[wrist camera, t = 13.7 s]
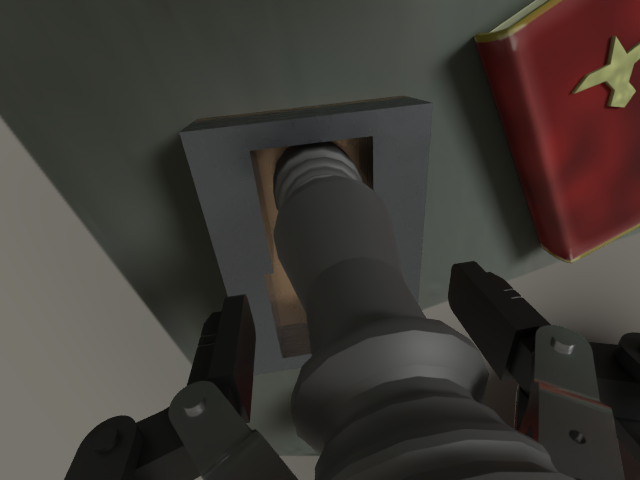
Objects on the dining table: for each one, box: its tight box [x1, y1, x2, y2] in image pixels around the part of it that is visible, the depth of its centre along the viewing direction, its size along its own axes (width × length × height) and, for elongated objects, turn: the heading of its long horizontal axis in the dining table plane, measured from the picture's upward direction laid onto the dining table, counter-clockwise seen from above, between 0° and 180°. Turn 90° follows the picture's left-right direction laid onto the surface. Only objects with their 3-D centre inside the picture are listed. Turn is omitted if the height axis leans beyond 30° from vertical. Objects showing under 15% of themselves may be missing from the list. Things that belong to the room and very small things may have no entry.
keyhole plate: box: [179, 96, 433, 375], centre depth 26 cm, size 15×21×5 cm
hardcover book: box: [474, 0, 640, 263], centre depth 25 cm, size 12×21×4 cm, turn 33°
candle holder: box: [273, 141, 576, 480], centre depth 14 cm, size 6×6×25 cm
